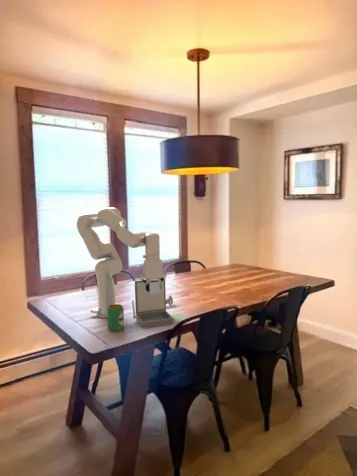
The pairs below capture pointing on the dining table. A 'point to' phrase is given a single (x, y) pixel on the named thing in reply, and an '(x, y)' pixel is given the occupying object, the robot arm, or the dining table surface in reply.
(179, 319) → the mat
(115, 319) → the beverage can
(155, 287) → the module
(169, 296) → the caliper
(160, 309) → the equipment case
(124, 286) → the dining table surface
